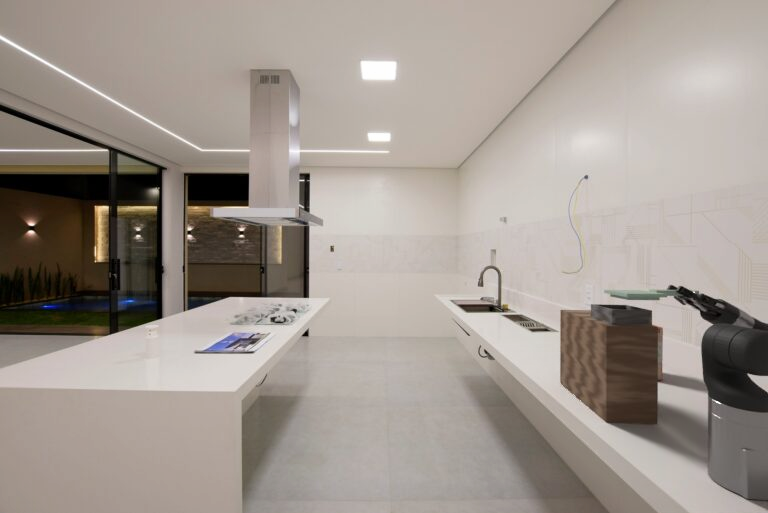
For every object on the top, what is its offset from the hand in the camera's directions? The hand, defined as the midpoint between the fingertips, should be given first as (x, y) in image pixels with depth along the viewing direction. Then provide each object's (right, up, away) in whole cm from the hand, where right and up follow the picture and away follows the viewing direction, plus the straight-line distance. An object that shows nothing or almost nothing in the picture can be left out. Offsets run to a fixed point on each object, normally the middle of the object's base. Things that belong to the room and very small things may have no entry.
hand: (673, 288), depth 97 cm
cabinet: (-16, -38, +8) cm, 43 cm away
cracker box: (+18, -39, +33) cm, 55 cm away
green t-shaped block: (-6, -3, 0) cm, 6 cm away
